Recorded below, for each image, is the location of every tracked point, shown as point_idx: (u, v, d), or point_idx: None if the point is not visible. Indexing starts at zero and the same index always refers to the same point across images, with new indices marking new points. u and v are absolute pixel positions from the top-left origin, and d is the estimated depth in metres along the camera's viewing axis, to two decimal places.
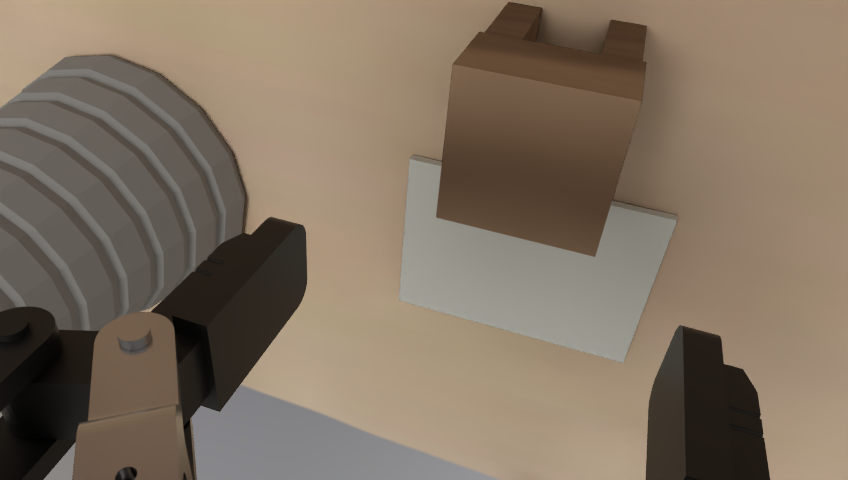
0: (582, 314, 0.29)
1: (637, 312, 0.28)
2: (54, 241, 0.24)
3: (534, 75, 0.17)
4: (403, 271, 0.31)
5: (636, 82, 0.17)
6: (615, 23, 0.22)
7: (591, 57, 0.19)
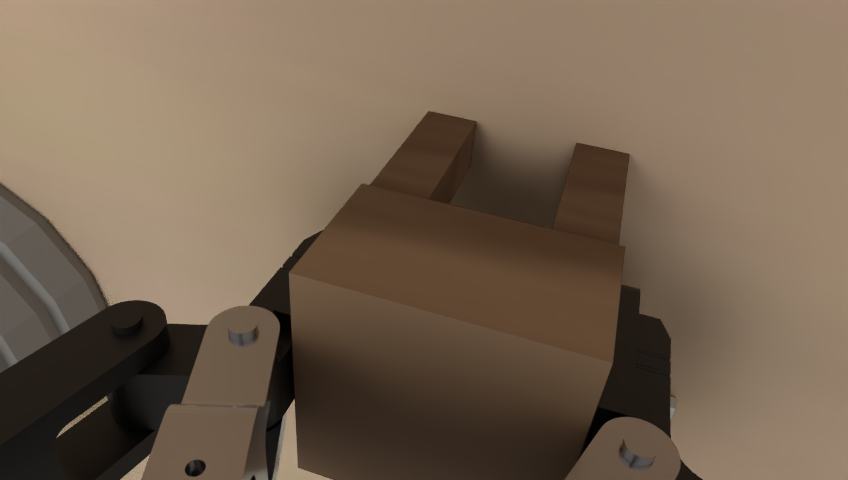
0: None
1: None
2: None
3: (428, 294, 0.10)
4: None
5: (605, 304, 0.10)
6: (581, 151, 0.15)
7: (535, 239, 0.11)
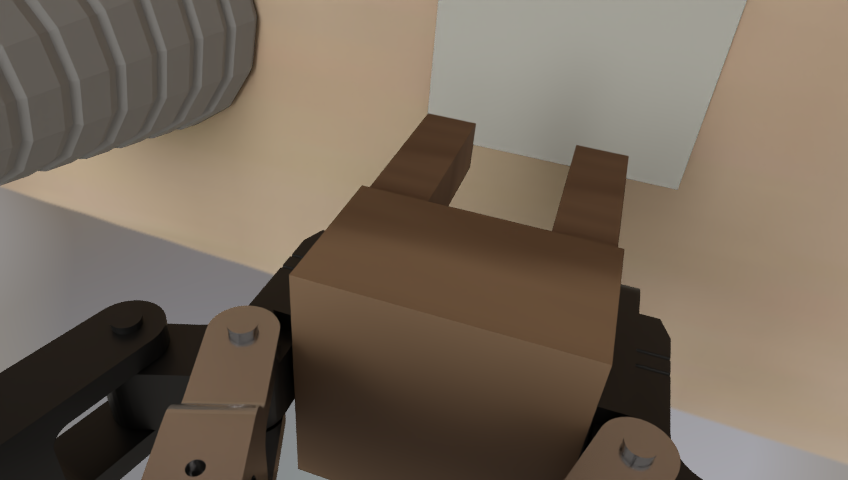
0: (633, 130, 0.26)
1: (697, 120, 0.25)
2: None
3: (428, 296, 0.10)
4: (432, 95, 0.28)
5: (605, 306, 0.10)
6: (581, 152, 0.15)
7: (534, 241, 0.11)
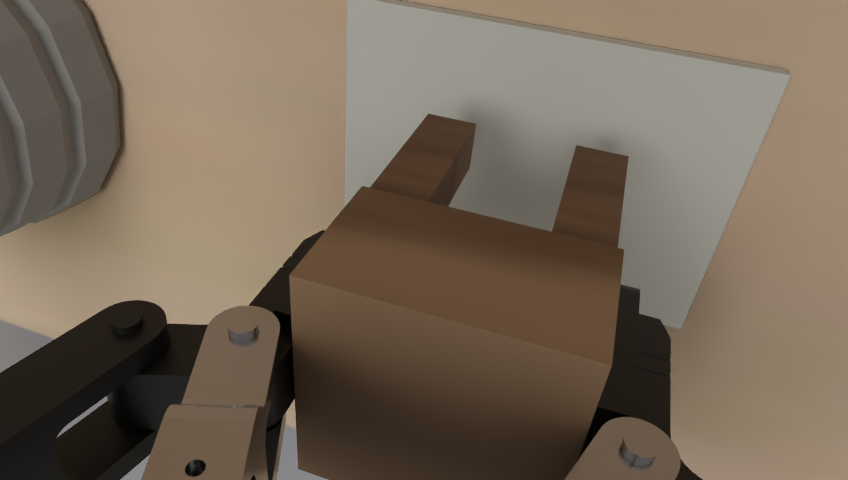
0: None
1: (709, 245, 0.18)
2: None
3: (428, 297, 0.10)
4: (348, 193, 0.20)
5: (604, 307, 0.10)
6: (581, 152, 0.15)
7: (534, 241, 0.11)
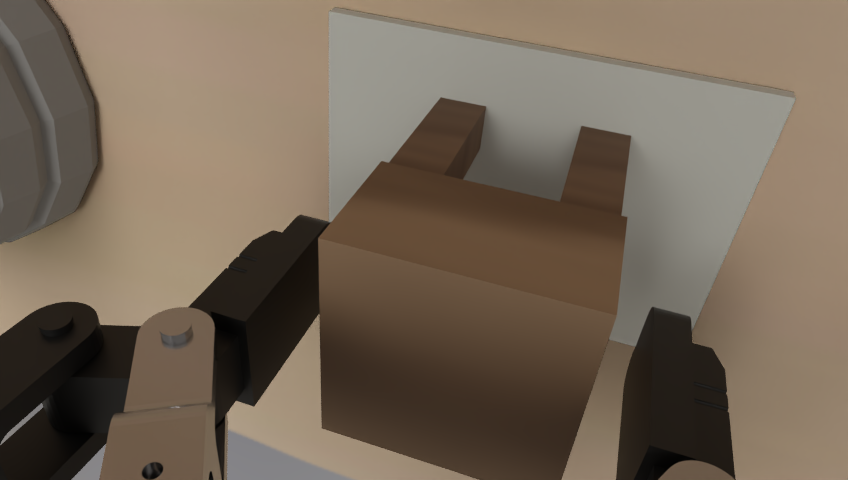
0: None
1: (709, 273, 0.17)
2: None
3: (446, 257, 0.11)
4: (332, 215, 0.20)
5: (610, 266, 0.11)
6: (586, 132, 0.15)
7: (543, 210, 0.12)
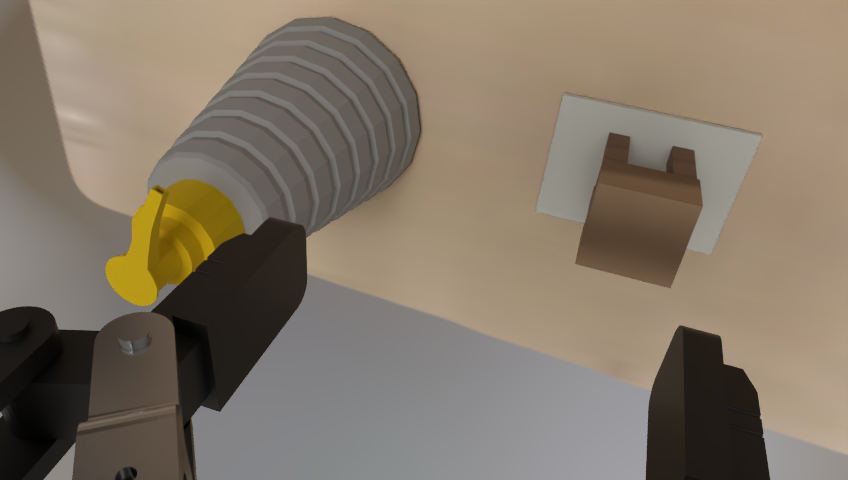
0: None
1: (725, 211, 0.38)
2: (327, 138, 0.34)
3: (643, 189, 0.32)
4: (543, 186, 0.41)
5: (697, 194, 0.32)
6: (675, 148, 0.37)
7: (669, 176, 0.33)
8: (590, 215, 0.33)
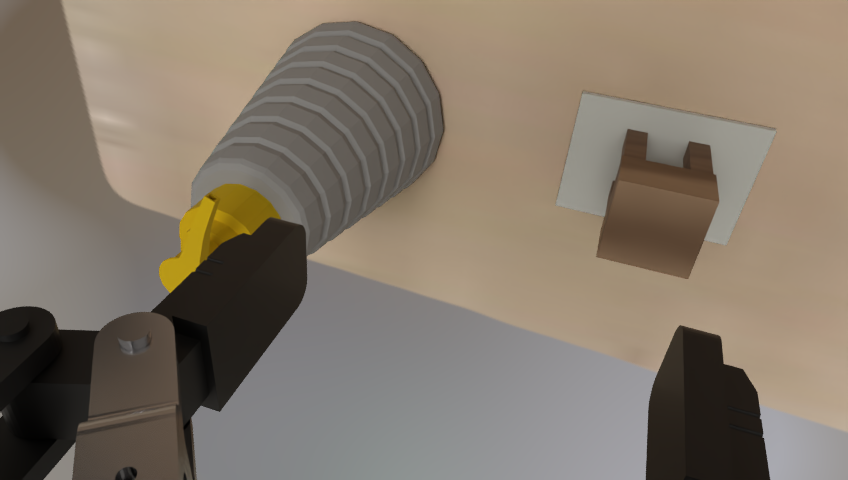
0: None
1: (741, 203, 0.39)
2: (358, 140, 0.35)
3: (661, 185, 0.33)
4: (563, 181, 0.42)
5: (714, 189, 0.33)
6: (692, 144, 0.38)
7: (686, 172, 0.35)
8: (610, 210, 0.34)
